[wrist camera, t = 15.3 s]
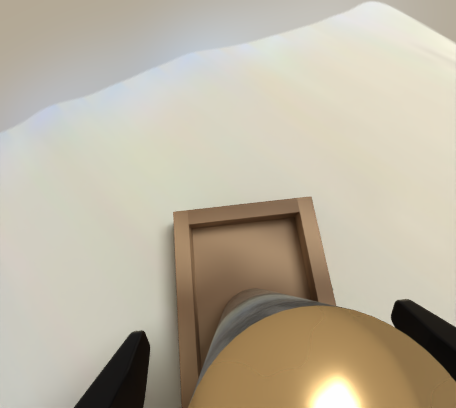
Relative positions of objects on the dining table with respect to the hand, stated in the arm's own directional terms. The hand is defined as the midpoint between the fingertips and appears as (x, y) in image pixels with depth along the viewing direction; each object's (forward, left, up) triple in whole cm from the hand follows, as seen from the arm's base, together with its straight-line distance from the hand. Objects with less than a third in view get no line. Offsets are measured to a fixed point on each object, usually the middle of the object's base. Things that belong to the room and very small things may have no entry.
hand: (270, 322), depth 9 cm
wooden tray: (0, 0, -9) cm, 9 cm away
